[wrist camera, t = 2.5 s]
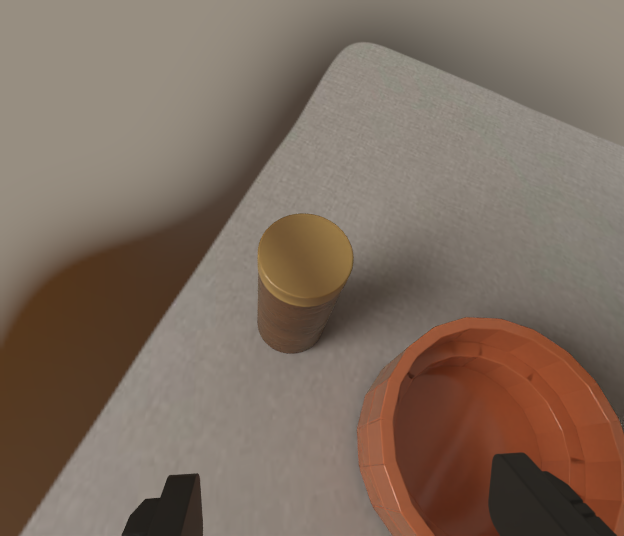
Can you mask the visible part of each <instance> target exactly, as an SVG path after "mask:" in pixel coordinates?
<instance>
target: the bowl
mask: <svg viewBox="0 0 624 536" xmlns="http://www.w3.org/2000/svg"><path fill="white" fill-rule="evenodd" d="M618 420H619V418H618V417H617V415H616V413H615V412H614V410H613V408H612V407H611V405H610V403H609V402H608V400H607V398H606V397H605V395H604V393H603V392H602V390H601V388H600V387H599V385H598V384H597V383H596V381H595V380H594V379H593V378H592V377H591V376H590V374H589V373H588V372H587V371H586V370H585V369H584V368H583V367H582V366H581V365H580V364H579V363H578V362H577V361H576V360H575V359H574V358H573V357H572V356H571V354H570V353H567V351H566V350H564V349H563V348H561V347H560V346H558V345H557V344H555V343H554V342H552V341H551V340H549V339H548V338H546V337H545V336H543V335H541V334H540V333H538V332H537V331H535V330H533V329H530V328H527V327H524V326H521V325H518V324H515V323H512V322H509V321H507V320H504V319H497V318H470V317H467V318H466V317H465V318H462V319H458V320H455V321H452V322H449V323H445V324H442V325H439V326H435V327H434V328H432V329H431V330H430V331H428V332H427V333H426V334H424V335H423V336H422V337H421V338H419V339H418V340H417V341H415V342H414V343H413V344H412V345H410V346H409V347H408V348H407V349H405V350H404V351H403V352H402V353H401V354H399V355H398V356H397V357H396V358H395V359H394V360H392V361H391V362H390V363H389V364H388V365H387V366H385V367H384V368H383V369H382V370H381V372H380V373H379V375H378V376H377V378H376V379H375V381H374V383H373V384H372V386H371V387H370V389H369V391H368V392H367V394H366V396H365V399H364V403H363V407H362V411H361V415H360V419H359V423H358V427H357V439H358V458H359V467H360V471H361V474H362V477H363V480H364V483H365V486H366V489H367V492H368V495H369V498H370V501H371V504H372V505H373V508H374V509H375V511H376V512H377V514H378V515H379V516H380V518H381V519H382V521H383V522H384V524H385V525H386V527H387V528H388V530H389V531H390V532H391V534H392V535H393V536H500V535H499V533H498V532H497V530H496V529H495V527H494V525H493V523H492V520H491V517H490V513H489V507H488V498H489V488H490V478H491V468H492V459H493V457H494V455H495V454H502V453H518V452H523V453H525V454H527V455H528V456H529V457H530V459H531V460H532V461H533V462H534V463H535V464H536V465H537V466H538V467H539V468H540V469H541V470H542V471H548V472H549V473H551V474H553V475H554V476H556V477H557V478H559V479H560V480H562V481H563V482H565V483H567V484H568V485H569V486H570V487H571V488H572V489H573V490H574V491H575V492H576V493H577V495H578V496H579V497H580V498H581V499H582V500H583V503H586V504H587V505H588V506H589V507H590V508H591V509H592V510H593V511H594V512H595V514H596V516H597V517H600V518H601V519H602V520H603V521H604V523H605V524H606V525H607V526H608V527H609V528H610V529H611V530H612V531H613V532H614V533H615V534H616V535H617V536H624V432H623V429H622V426H621V423H620V421H618Z"/></svg>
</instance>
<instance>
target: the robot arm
mask: <svg viewBox="0 0 624 536" xmlns="http://www.w3.org/2000/svg"><path fill="white" fill-rule="evenodd" d="M488 507H489V513H490V517H491V520H492V523H493V525H494V527H495V529H496V530H497V532H498V533H499V535H500V536H617V535H616V534H615V533H614V532H613V531H612V530H611V529H610V528H609V527H608V526H607V525H606V524H605V523H604V521H603V520H602V519H601V518H600V517H597V516H596V514H595V512H594V511H593V510H592V509H591V508H590V507H589V506H588V505H587V504H586V503H583V500H582V499H581V498H580V497H579V496H578V495H577V493H576V492H575V491H574V490H573V489H572V488H571V487H570V486H569V485H568V484H567V483H565V482H563V481H562V480H560V479H559V478H557V477H556V476H554V475H553V474H551V473H549V472H548V471H542V470H541V469H540V468H539V467H538V466H537V465H536V464H535V463H534V462H533V461H532V460H531V459H530V457H529V456H528V455H527V454H525V453H523V452H518V453H502V454H495V455H494V457H493V459H492V468H491V478H490V488H489V498H488ZM122 536H203V518H202V503H201V488H200V477H199V474H198V473H197V474H181V475H169V476H168V478H167V480H166V483H165V486H164V489H163V492H162V495H161V497H160V498H151V499H145V500H144V501H143V502H142V503H141V504H140V505H139V506H138V508H137V509H136V510H135V511H134V512H133V513H132V514H131V515H130V517H129V519H128V521H127V524H126V526H125V528H124V531H123V533H122Z"/></svg>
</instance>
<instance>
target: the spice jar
mask: <svg viewBox="0 0 624 536" xmlns="http://www.w3.org/2000/svg"><path fill="white" fill-rule="evenodd" d="M352 267H353V251H352V247H351V244H350V242H349V240H348V238H347V236H346V235H345V234H344V232H343V231H342V230H341V229H340V228H339V227H338V226H337V225H336V224H334V223H333V222H331V221H329V220H328V219H326V218H323V217H320V216H317V215H313V214H293V215H289V216H286V217H283V218H281V219H279V220H277V221H276V222H274V223H273V224H272V225H271V226H270V227H269V228H268V229H267V230H266V231H265V233H264V234H263V236H262V238H261V240H260V243H259V247H258V321H257V323H258V329H259V332H260V335H261V337H262V338H263V340H264V341H265V342H266V343H267V344H268V345H269V346H270V347H272V348H273V349H275V350H277V351H280V352H283V353H299V352H303V351H305V350H307V349H309V348H310V347H312V346H313V345H314V344H315V343H316V342H317V340H318V339H319V337H320V335H321V333H322V331H323V329H324V327H325V325H326V323H327V320H328V318H329V316H330V314H331V312H332V310H333V308H334V305H335V303H336V301H337V299H338V297H339V295H340V292H341V290H342V289H343V288H344V286H345V284H346V282H347V280H348V278H349V276H350V273H351V271H352Z"/></svg>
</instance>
